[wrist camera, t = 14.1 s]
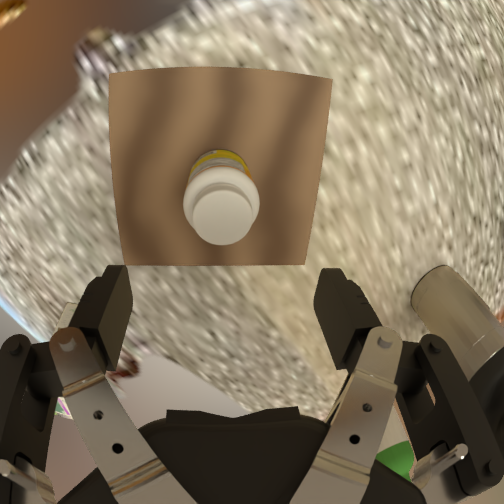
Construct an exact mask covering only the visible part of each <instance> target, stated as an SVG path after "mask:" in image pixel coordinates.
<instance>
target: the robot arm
mask: <svg viewBox="0 0 504 504" xmlns="http://www.w3.org/2000/svg"><path fill="white" fill-rule="evenodd" d="M411 304H412V307H413V309H414V310H415V311H416V313H417V314H418V316H419V317H420V318H421V320H422V321H423V323H424V324H425V326H426V327H427V329H428V330H429V332H430V333H431V334H426V335H424V336H423V337H422V338H421V340H420V342H419V343H415V342H408V341H402V339H401V337H400V336H399V335H398V334H397V333H396V332H395V331H394V330H392V329H390V328H387V327H383V326H382V324H381V322H380V321H379V319H378V317H377V315H376V314H375V312H374V310H373V308H372V307H371V305H370V304H369V302H368V300H367V298H366V297H365V295H364V293H363V292H362V290H361V288H360V287H359V286H358V285H357V284H356V283H354V282H353V281H352V280H347V278H346V277H345V275H344V273H343V271H342V270H341V269H340V268H323V269H322V270H321V272H320V276H319V280H318V284H317V288H316V292H315V295H314V310H315V313H316V316H317V318H318V321H319V324H320V326H321V329H322V332H323V334H324V337H325V340H326V342H327V345H328V348H329V350H330V353H331V356H332V359H333V361H334V364H335V367H336V370H341V369H347V371H348V375H347V377H346V379H345V381H344V383H343V385H342V387H341V390H340V392H339V394H338V396H337V398H336V400H335V402H334V404H333V407H332V409H331V411H330V412H329V414H328V416H327V418H326V419H325V421H324V422H323V421H321V420H319V419H316V418H313V417H310V416H305V415H300V413H299V409H298V406H296V407H286V408H275V409H265V410H262V411H259V412H255V413H252V414H248V415H244V416H241V417H237V418H229V417H224V416H220V415H215V414H210V413H206V412H202V411H187V410H167V415H166V418H163V419H159V420H156V421H153V422H150V423H148V424H146V425H144V426H142V427H140V428H139V429H137V428H136V426H135V425H134V423H133V422H132V420H131V419H130V417H129V416H128V414H127V413H126V411H125V409H124V408H123V406H122V405H121V403H120V402H119V400H118V398H117V396H116V395H115V393H114V391H113V390H112V388H111V386H110V384H109V383H108V381H107V379H106V377H105V373H106V370H107V371H115V372H116V367H117V363H118V359H119V355H120V351H121V347H122V344H123V340H124V336H125V333H126V329H127V325H128V322H129V318H130V315H131V312H132V307H133V296H132V291H131V286H130V281H129V276H128V270H127V267H126V266H125V265H108V266H107V267H106V269H105V271H104V273H103V275H102V277H96V278H95V279H93V280H92V281H91V282H90V283H89V284H88V286H87V287H86V289H85V291H84V295H82V297H81V299H80V302H79V303H78V306H77V308H76V310H75V312H74V314H73V316H72V318H71V320H70V323H69V325H68V327H65V328H62V329H60V330H58V331H57V332H55V333H54V334H53V336H52V337H51V339H50V341H49V342H43V343H37V344H31V342H30V340H29V339H28V337H26V336H25V335H22V334H17V335H13V336H11V337H9V338H8V339H7V340H6V341H5V342H4V343H3V345H2V347H1V349H0V504H459V503H461V502H464V501H466V500H467V499H470V498H472V497H474V496H476V495H478V494H480V493H482V492H484V491H486V490H488V489H490V488H491V487H493V486H495V485H497V484H498V483H499V482H500V480H501V479H502V477H503V475H504V327H503V326H502V325H501V323H500V322H499V321H498V320H497V318H496V317H495V316H494V315H493V313H492V312H491V311H490V308H489V306H488V305H487V304H486V303H485V302H484V301H483V300H482V298H481V297H480V296H479V295H478V294H477V293H476V292H475V291H474V289H473V288H472V287H471V286H470V285H469V284H468V283H467V282H466V281H465V280H464V279H463V278H462V277H461V276H460V275H459V273H456V272H455V271H454V270H453V269H452V268H451V267H449V266H440V267H437V268H435V269H433V270H432V271H430V272H429V273H428V274H427V275H426V276H424V278H423V279H422V280H421V281H420V282H419V284H418V285H417V286H416V288H415V290H414V292H413V295H412V299H411ZM428 383H429V385H430V387H431V390H432V392H433V394H434V396H435V406H434V403H433V401H432V399H431V396H430V394H429V392H428V390H427V388H426V385H427V384H428ZM23 395H24V396H23ZM58 397H64V399H65V402H66V404H67V406H68V409H69V411H70V413H71V416H72V418H73V420H74V422H75V424H76V426H77V429H78V431H79V433H80V434H81V437H82V439H83V440H84V442H85V444H86V446H87V448H88V450H89V452H90V454H91V456H92V457H93V459H94V461H95V463H96V464H97V466H98V467H97V468H95V469H94V470H93V471H92V472H91V473H90V474H89V475H88V476H87V477H86V478H84V479H83V480H82V481H81V482H80V483H79V484H78V485H77V486H76V487H74V488H73V489H72V490H71V491H70V492H69V493H68V494H66V495H65V496H64V497H63V498H62V499H61V500H60V501H59V502H58V503H57V502H56V500H55V498H54V490H53V486H52V483H51V480H50V479H49V477H48V476H47V475H46V474H45V467H46V459H47V452H48V446H49V440H50V434H51V429H52V423H53V419H54V414H55V409H56V405H57V401H58ZM395 398H396V401H397V403H398V406H399V409H400V411H401V415H402V417H403V420H404V422H405V426H406V429H407V432H408V435H409V437H410V441H411V443H412V446H413V450H414V453H415V456H416V459H417V463H416V465H415V468H414V474H413V476H412V482H410V481H408V480H407V479H405V478H404V477H402V476H401V475H399V474H398V473H396V472H395V471H393V470H392V469H390V468H389V467H387V466H386V465H384V464H383V463H381V462H380V461H378V460H377V459H375V457H376V455H377V452H378V449H379V447H380V444H381V441H382V438H383V435H384V432H385V429H386V426H387V423H388V420H389V417H390V413H391V410H392V406H393V403H394V399H395ZM21 402H22V403H21Z"/></svg>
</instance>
